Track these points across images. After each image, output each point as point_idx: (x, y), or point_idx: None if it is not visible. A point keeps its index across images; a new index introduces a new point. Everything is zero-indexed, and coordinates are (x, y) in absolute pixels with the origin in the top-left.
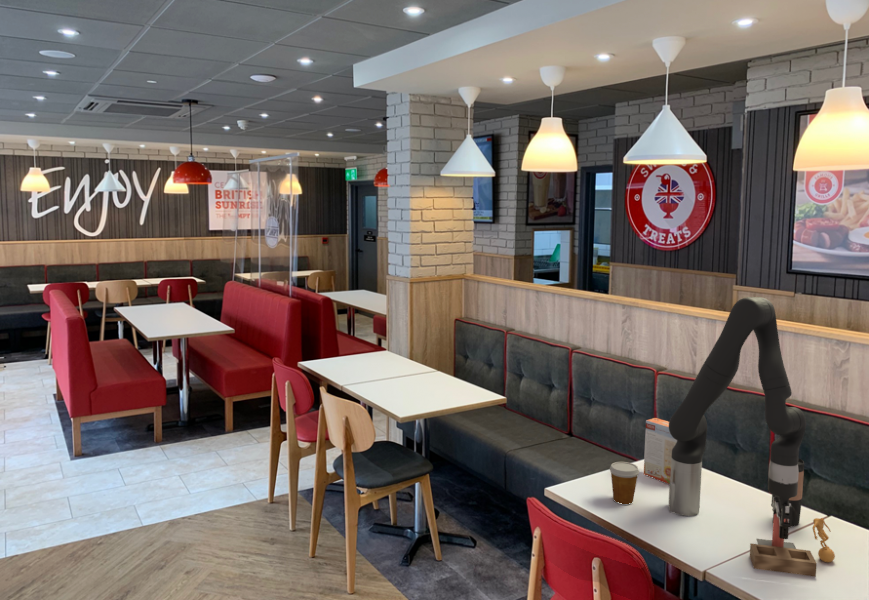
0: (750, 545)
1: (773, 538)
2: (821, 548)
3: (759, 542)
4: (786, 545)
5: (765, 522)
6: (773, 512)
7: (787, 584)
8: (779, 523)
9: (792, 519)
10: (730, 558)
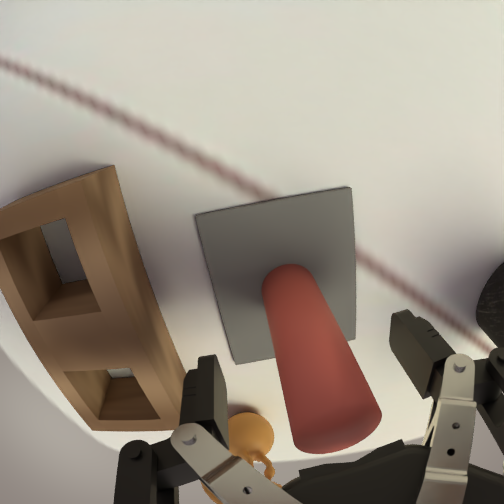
0: (82, 178)
1: (281, 296)
2: (250, 444)
3: (308, 205)
4: None
5: (500, 230)
6: (442, 357)
7: (4, 313)
8: (181, 437)
9: (491, 330)
10: (57, 85)
